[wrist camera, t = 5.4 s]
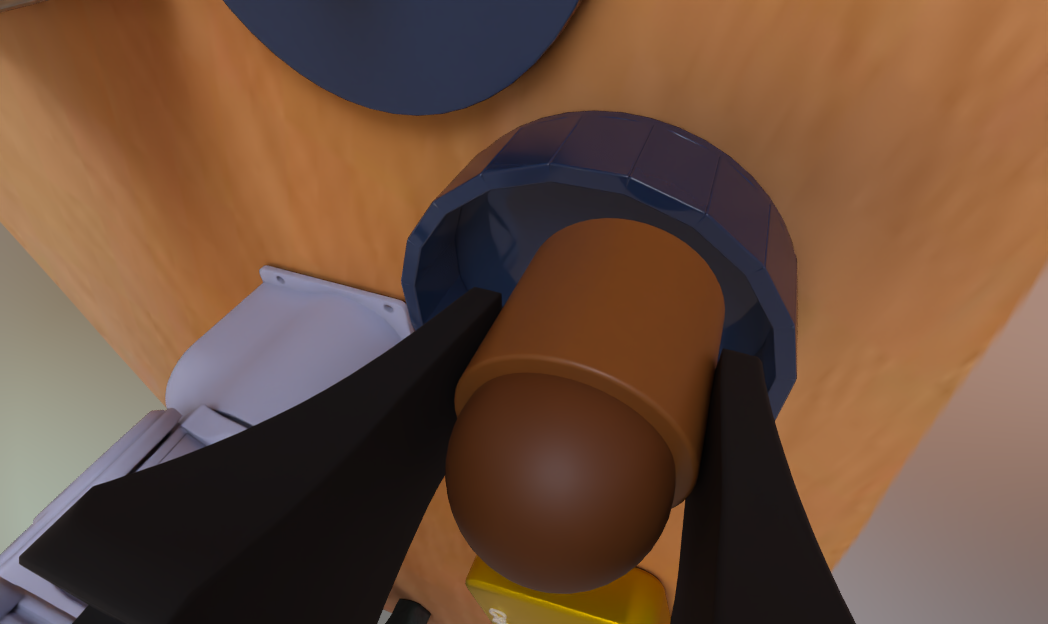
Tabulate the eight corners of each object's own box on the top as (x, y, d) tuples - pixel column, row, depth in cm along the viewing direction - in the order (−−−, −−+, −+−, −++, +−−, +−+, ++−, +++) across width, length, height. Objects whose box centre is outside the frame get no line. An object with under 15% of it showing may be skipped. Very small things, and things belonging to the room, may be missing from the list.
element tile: (479, 525, 44) (453, 582, 41) (662, 571, 37) (648, 644, 34) (525, 604, 53) (507, 656, 49) (680, 652, 46) (671, 716, 43)
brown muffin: (530, 342, 14) (409, 577, 10) (528, 198, 11) (352, 446, 7) (700, 389, 13) (646, 679, 9) (751, 241, 10) (706, 576, 6)
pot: (465, 353, 29) (430, 410, 26) (427, 86, 19) (364, 133, 16) (739, 430, 25) (731, 506, 22) (868, 143, 15) (882, 217, 12)
